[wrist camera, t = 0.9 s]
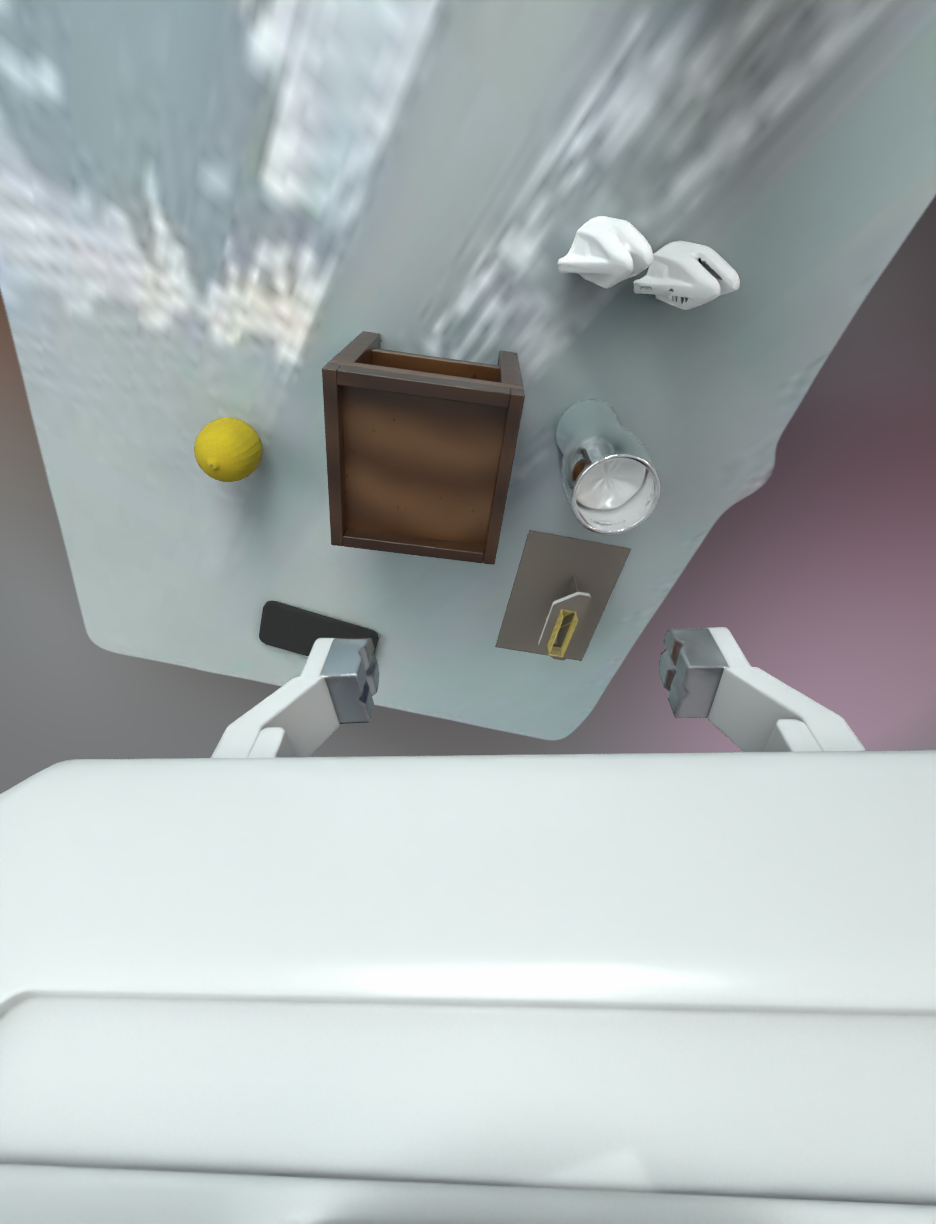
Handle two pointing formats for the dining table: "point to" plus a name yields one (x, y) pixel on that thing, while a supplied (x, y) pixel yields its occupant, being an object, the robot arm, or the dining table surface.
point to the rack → (419, 450)
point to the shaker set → (648, 264)
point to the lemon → (228, 449)
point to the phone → (304, 628)
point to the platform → (559, 595)
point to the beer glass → (605, 469)
